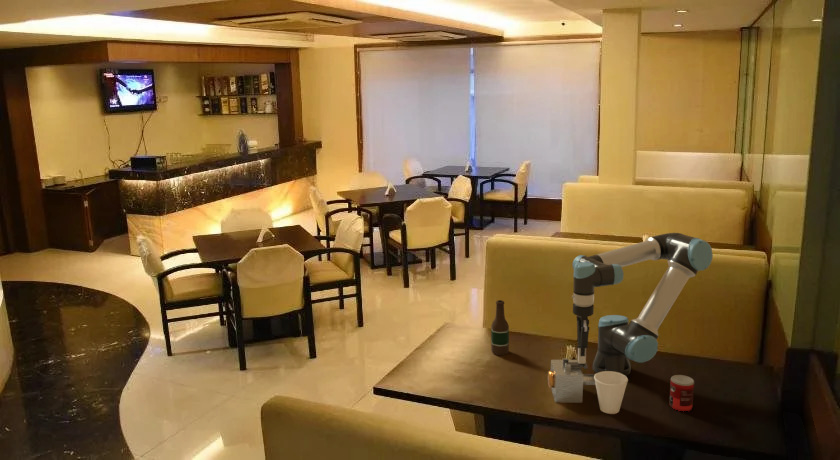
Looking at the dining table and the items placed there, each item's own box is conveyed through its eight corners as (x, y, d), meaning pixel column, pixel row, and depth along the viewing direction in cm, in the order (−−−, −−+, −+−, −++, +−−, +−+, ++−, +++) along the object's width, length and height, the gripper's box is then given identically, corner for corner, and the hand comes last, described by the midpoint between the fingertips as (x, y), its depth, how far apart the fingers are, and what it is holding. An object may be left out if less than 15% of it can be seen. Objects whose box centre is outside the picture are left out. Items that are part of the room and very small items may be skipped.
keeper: (585, 363, 255) (585, 360, 254) (587, 368, 250) (587, 365, 250) (563, 364, 255) (563, 360, 255) (565, 369, 251) (565, 365, 251)
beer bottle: (508, 356, 291) (508, 304, 286) (490, 355, 293) (490, 303, 288) (509, 349, 299) (509, 298, 294) (492, 348, 300) (492, 297, 295)
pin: (593, 383, 257) (594, 368, 256) (596, 391, 251) (597, 375, 250) (547, 383, 258) (547, 368, 257) (549, 390, 252) (550, 375, 251)
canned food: (673, 400, 248) (674, 372, 246) (695, 406, 243) (697, 378, 241) (665, 408, 243) (667, 380, 240) (688, 414, 238) (690, 386, 235)
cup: (633, 411, 241) (635, 380, 238) (609, 420, 235) (611, 388, 232) (609, 398, 251) (610, 368, 248) (586, 406, 245) (587, 375, 242)
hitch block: (576, 385, 262) (576, 354, 259) (582, 402, 248) (583, 369, 245) (550, 385, 263) (551, 354, 260) (555, 402, 249) (556, 369, 246)
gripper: (570, 298, 254) (569, 355, 259) (576, 309, 241) (574, 370, 246) (590, 298, 253) (588, 355, 258) (597, 309, 240) (595, 370, 246)
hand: (581, 362), depth 252 cm, fingers closed
